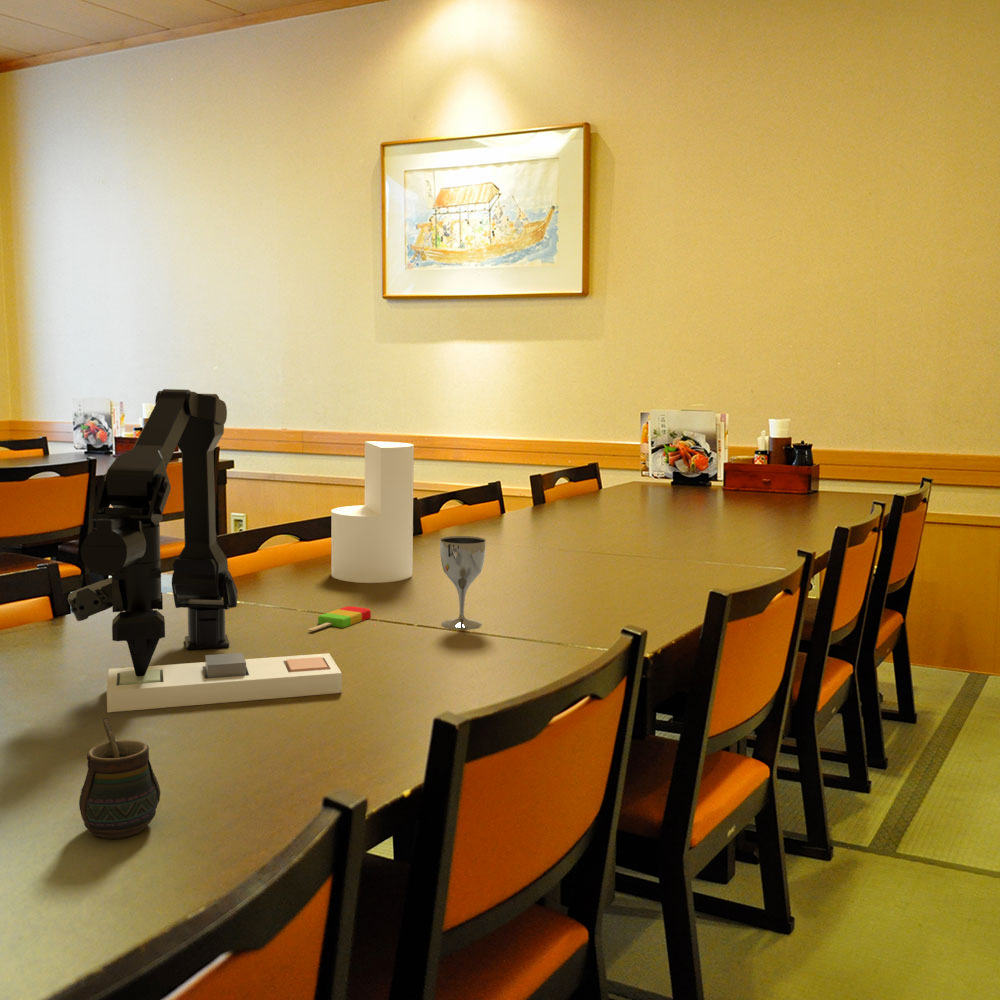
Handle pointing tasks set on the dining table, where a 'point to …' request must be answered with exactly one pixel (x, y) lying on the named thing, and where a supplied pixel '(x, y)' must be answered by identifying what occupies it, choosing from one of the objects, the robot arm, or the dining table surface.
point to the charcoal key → (225, 665)
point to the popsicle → (343, 617)
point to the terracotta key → (306, 664)
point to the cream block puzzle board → (222, 684)
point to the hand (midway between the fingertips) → (140, 675)
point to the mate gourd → (118, 788)
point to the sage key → (139, 677)
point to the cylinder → (377, 520)
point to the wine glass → (462, 571)
